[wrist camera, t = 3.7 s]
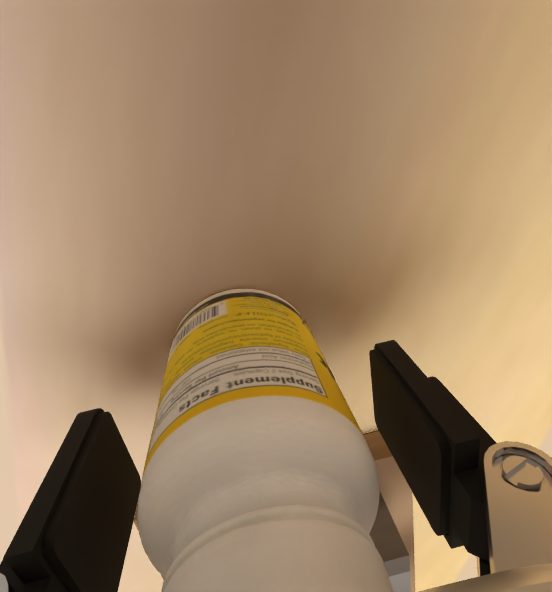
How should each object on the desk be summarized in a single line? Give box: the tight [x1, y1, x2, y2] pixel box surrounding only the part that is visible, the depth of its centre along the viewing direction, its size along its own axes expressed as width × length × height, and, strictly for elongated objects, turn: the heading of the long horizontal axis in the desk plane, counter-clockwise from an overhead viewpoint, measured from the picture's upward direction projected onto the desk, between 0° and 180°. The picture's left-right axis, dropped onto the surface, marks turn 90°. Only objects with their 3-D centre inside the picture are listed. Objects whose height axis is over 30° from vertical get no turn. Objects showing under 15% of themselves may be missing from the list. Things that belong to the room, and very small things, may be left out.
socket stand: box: [134, 431, 415, 592], centre depth 17 cm, size 12×12×4 cm
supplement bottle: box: [137, 289, 394, 592], centre depth 10 cm, size 5×5×10 cm
